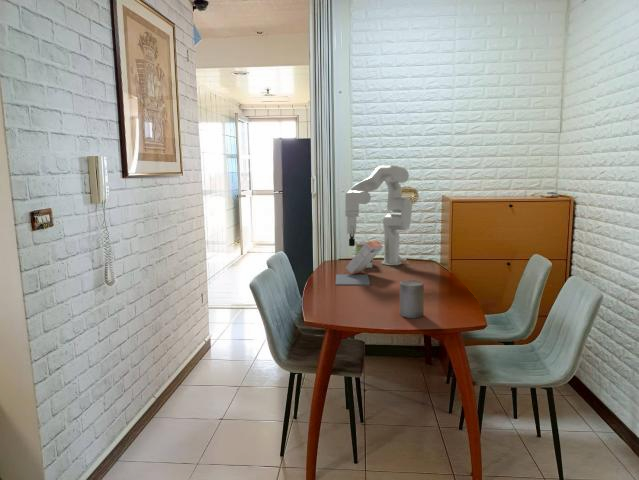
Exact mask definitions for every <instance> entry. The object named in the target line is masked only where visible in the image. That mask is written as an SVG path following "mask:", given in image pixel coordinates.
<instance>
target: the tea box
mask: <svg viewBox="0 0 639 480" xmlns="http://www.w3.org/2000/svg"><path fill="white" fill-rule="evenodd" d="M369 241H370V240H369ZM369 241H368V240H366V241H365V240H357V241H355V255H356V254H357V253H358V252H359V251H360V249H361V248H362V247H363V246H364V245H365V243H366V242H369ZM367 268H369V269H370V268H373V260H372V261H371V262H370V263H369V264H368V265H367V266H366V268H365V269H367Z"/></svg>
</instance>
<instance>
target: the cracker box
mask: <svg viewBox="0 0 639 480" xmlns="http://www.w3.org/2000/svg"><path fill="white" fill-rule="evenodd" d="M382 249H384V245H382V244H381V243H380V242H379V241H378V240H369V242H366V243H365V245H364V246H363V247H362V248H361V249H360V251H359V252H358V253H357V254H356V253H355V255H354V256H353V258H352V259H351V260H350V261H349V263H348V264H347V265H346V266H345V267H344V269H345V270H347V272H348V273H349V274H351V275H353V274H359V273H362V272H363V271H364V270H365V269H367V268H366V266H367V265H368V264H369V263H370V262H371V261H372V262H373V259H375V257H377V256H378V254H379V252H380V251H382Z"/></svg>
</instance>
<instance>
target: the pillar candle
mask: <svg viewBox="0 0 639 480" xmlns="http://www.w3.org/2000/svg"><path fill="white" fill-rule="evenodd" d="M424 286H425V285H424V282H423V281H421V280H417V279H416V280H415V279H405V280H402V281H400V282H399V315H400V316H401V317H404V318H408V319H419V318H421V317H423V316H424V308H425V307H424V304H425V303H424V302H425V301H424V300H425V299H424V298H425V297H424V295H425V292H424V291H425V289H424Z"/></svg>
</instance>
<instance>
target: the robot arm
mask: <svg viewBox="0 0 639 480" xmlns="http://www.w3.org/2000/svg"><path fill="white" fill-rule="evenodd" d="M409 177H410V173H409V171H408V170H407V169H406V168H403V167H400V166H397V165H389V164H387V165H378V166H377V167H376V168H375V169H374V171H373V172H372V173H370V175H369V176H368V177H367V178H365V179H364V180H361V181H360V182H358V183H355V184H354V185H353V186H352V187H351V188H350V189H349V190H348V191H347V192H346V193H345V202H344V203H345V204H344V205H345V213H344V214H345V215H344V216H345V217H346V234H347V235H349V238H348V246H349V247H356V241H355V235H356V233H357V223H358V222H357V218H358V217H359V216H360V205H366V204H367V205H368V204H369V202H371V199H372V198H371V197H372V196H371V193H369V192H373V191H376V190H377V189H379V187H381V185H382V184H383V183H385V184H386V186H387V190H388V192H387V202H386V208H387V210H388V212H390V214H386V215H384V217H383V218H382V226H383V230H384V231H383V234H384V241H383V242H384V243H383V250H384V251H383V260H381V264H382V265H387V266H399V265H402V262H407V257H400V239H401V238H400V234H399V231H408V230H409V229H410V226H411V224H412V223H411V221H412V212H413V202H412V200H411V199H410V198H408V197H402V195H403V194H402V193H403V189H402V186H401V184H402V183H407V181H408V180H409ZM392 213H398V214H392ZM399 213H400V214H399Z"/></svg>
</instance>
